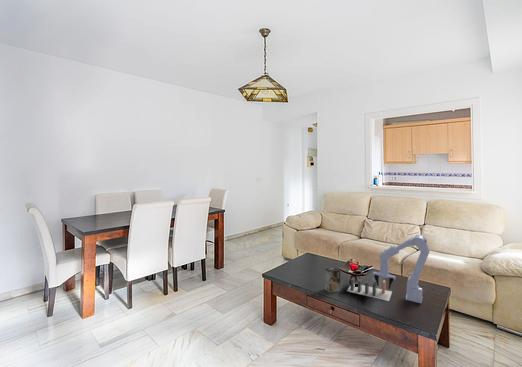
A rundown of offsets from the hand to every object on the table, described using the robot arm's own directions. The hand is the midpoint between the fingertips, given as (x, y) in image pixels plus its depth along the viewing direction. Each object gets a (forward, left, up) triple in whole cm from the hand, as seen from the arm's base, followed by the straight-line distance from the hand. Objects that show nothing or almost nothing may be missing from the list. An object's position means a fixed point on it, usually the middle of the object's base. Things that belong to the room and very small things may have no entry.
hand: (383, 286), depth 195 cm
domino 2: (+15, +7, -4) cm, 17 cm away
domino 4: (+5, +7, -4) cm, 9 cm away
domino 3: (+10, +7, -4) cm, 13 cm away
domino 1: (+20, +7, -4) cm, 21 cm away
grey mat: (+9, +4, -4) cm, 11 cm away
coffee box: (+32, +16, -5) cm, 36 cm away
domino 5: (0, 0, -4) cm, 4 cm away
